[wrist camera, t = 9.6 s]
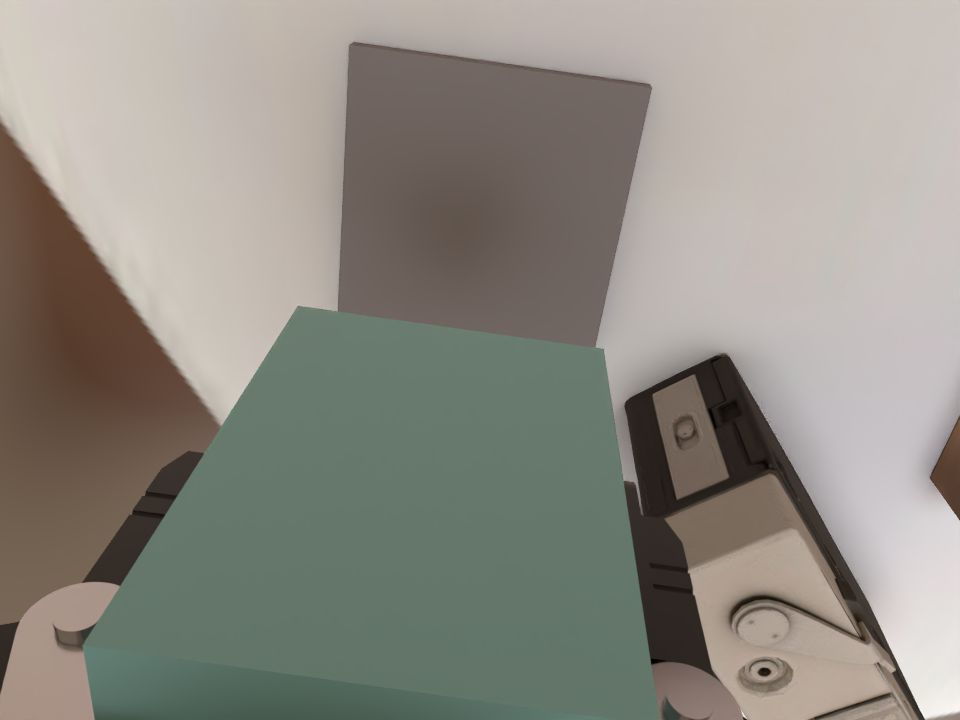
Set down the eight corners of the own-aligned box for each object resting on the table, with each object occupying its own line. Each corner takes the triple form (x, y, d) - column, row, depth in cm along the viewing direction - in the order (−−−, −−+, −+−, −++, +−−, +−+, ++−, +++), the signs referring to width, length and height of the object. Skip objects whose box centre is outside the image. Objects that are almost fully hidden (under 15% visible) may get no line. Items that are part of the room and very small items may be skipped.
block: (297, 306, 13) (81, 644, 7) (603, 348, 13) (660, 726, 7) (294, 541, 15) (131, 948, 9) (552, 576, 15) (560, 1007, 9)
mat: (353, 42, 24) (349, 45, 24) (649, 84, 24) (651, 87, 24) (341, 310, 29) (337, 317, 28) (592, 346, 29) (593, 353, 28)
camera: (530, 441, 31) (526, 647, 22) (731, 343, 28) (816, 531, 20) (692, 666, 36) (741, 906, 27) (874, 600, 33) (992, 841, 25)
